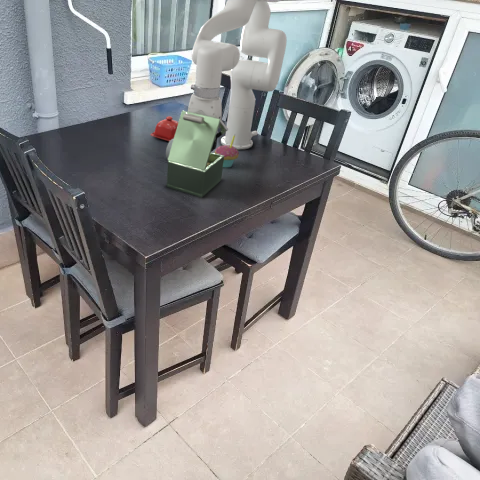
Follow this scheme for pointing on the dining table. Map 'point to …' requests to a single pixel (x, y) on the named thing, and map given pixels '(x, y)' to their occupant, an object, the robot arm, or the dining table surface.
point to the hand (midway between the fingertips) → (201, 147)
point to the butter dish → (166, 129)
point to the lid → (193, 140)
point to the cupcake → (228, 153)
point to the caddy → (195, 176)
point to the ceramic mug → (169, 148)
